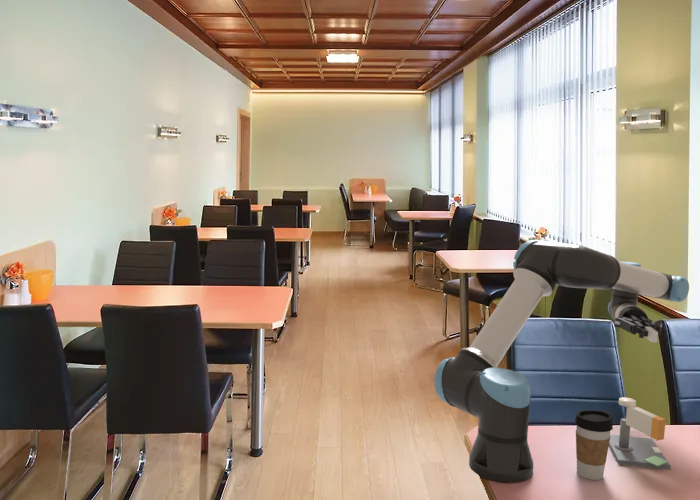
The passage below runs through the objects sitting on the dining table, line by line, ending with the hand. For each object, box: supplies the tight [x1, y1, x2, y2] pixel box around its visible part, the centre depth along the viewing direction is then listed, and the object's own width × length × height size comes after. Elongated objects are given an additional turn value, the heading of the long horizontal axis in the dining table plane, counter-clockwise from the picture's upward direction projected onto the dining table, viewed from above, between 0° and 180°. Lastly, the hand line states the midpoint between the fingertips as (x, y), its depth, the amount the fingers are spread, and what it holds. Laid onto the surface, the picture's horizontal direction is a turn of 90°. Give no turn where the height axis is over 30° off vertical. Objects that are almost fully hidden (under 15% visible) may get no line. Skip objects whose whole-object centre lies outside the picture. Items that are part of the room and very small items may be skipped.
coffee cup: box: [574, 409, 614, 481], centre depth 147 cm, size 8×8×15 cm
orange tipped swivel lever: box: [618, 396, 666, 448], centre depth 155 cm, size 13×4×12 cm, turn 21°
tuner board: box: [608, 433, 671, 471], centre depth 159 cm, size 12×18×2 cm
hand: (654, 337), depth 162 cm, fingers closed
